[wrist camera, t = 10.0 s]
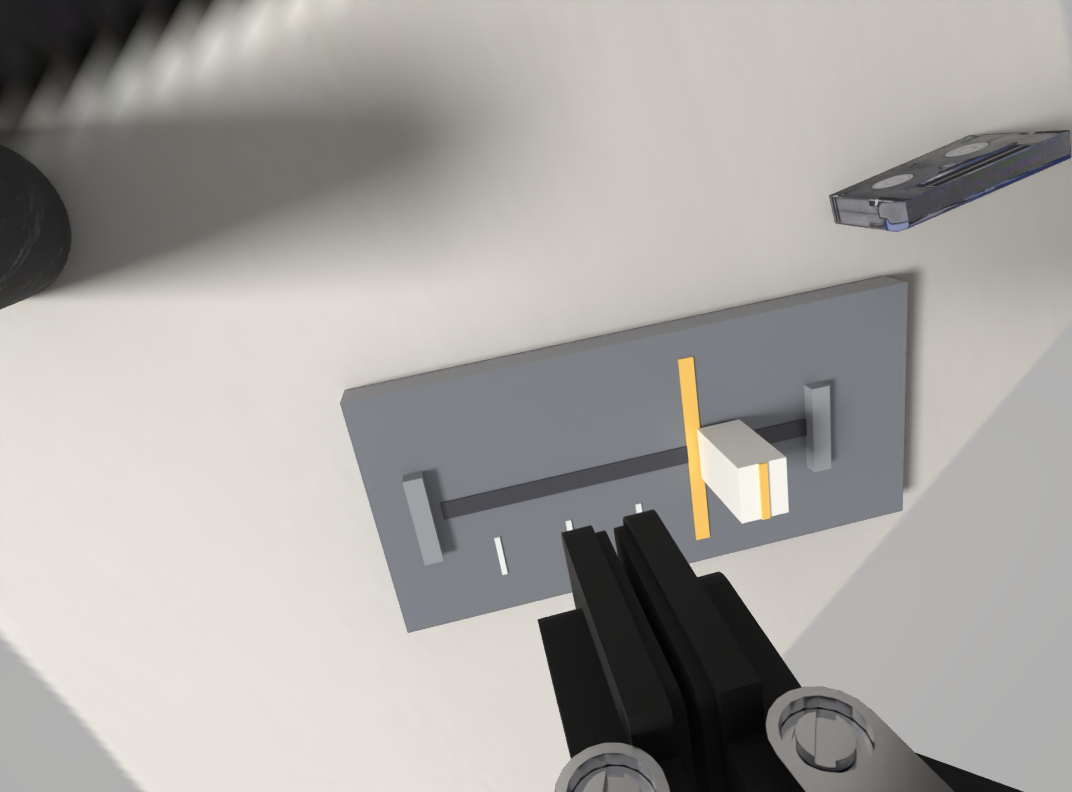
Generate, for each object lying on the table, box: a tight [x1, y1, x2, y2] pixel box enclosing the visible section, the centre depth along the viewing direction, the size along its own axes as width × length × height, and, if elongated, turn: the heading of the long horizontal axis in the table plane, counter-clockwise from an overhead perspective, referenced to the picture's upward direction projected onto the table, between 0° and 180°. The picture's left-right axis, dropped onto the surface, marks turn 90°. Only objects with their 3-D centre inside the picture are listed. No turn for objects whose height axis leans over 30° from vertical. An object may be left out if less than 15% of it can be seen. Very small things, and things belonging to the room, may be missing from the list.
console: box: [340, 276, 908, 633], centre depth 37 cm, size 14×30×3 cm, turn 100°
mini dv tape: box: [829, 130, 1071, 232], centre depth 33 cm, size 8×2×6 cm, turn 112°
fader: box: [697, 419, 789, 524], centre depth 34 cm, size 3×2×5 cm
